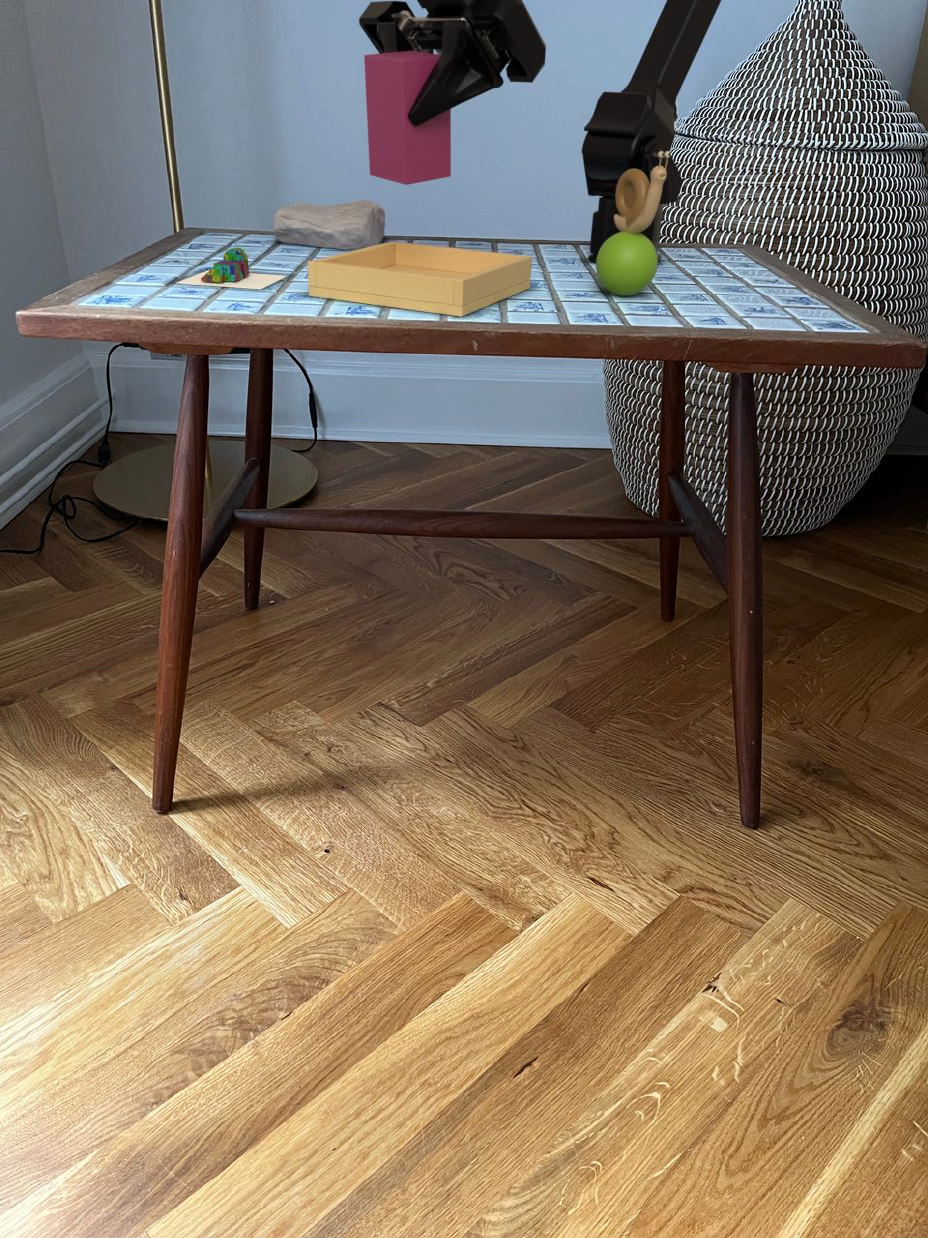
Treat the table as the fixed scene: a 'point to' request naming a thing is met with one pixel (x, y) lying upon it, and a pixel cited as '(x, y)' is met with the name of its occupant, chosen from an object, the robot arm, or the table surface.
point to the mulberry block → (404, 120)
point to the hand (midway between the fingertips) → (391, 119)
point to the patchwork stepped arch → (233, 273)
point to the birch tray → (420, 277)
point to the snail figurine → (632, 233)
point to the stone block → (331, 225)
